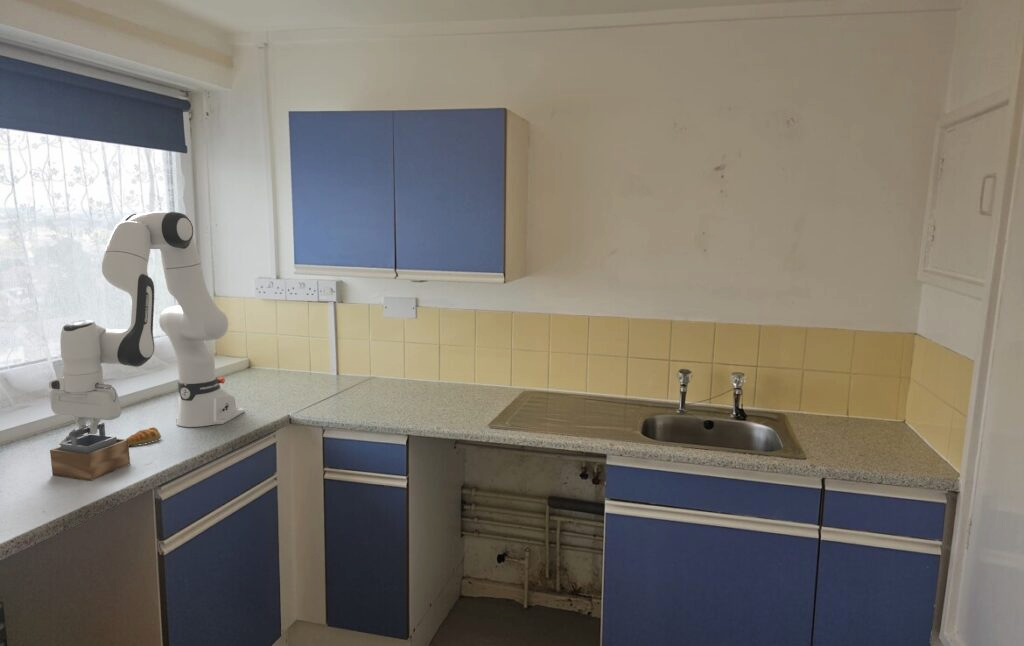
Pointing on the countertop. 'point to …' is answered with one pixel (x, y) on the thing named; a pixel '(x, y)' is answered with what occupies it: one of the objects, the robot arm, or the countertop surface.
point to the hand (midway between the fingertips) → (88, 432)
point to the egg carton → (70, 437)
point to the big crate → (90, 461)
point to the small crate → (88, 441)
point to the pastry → (144, 436)
